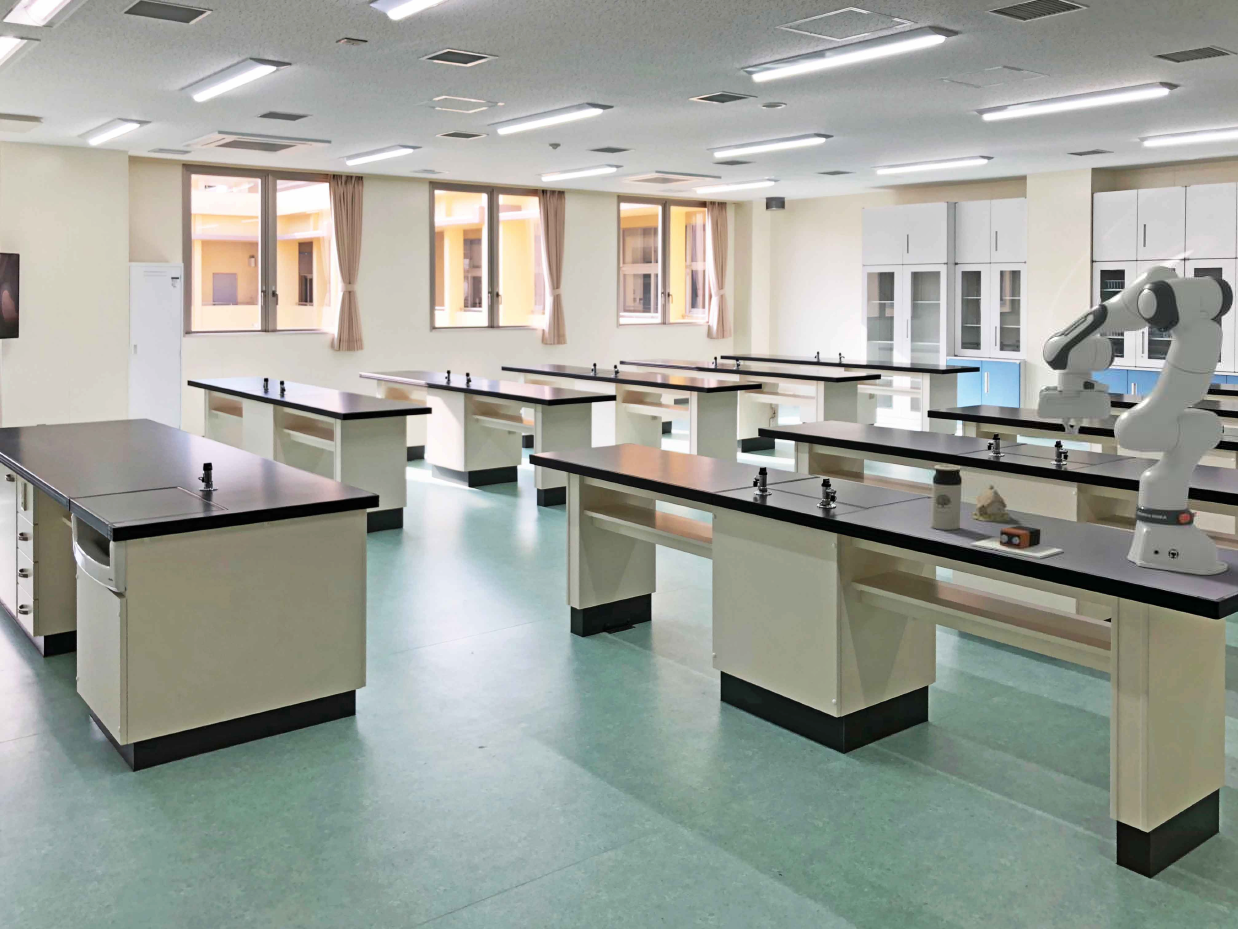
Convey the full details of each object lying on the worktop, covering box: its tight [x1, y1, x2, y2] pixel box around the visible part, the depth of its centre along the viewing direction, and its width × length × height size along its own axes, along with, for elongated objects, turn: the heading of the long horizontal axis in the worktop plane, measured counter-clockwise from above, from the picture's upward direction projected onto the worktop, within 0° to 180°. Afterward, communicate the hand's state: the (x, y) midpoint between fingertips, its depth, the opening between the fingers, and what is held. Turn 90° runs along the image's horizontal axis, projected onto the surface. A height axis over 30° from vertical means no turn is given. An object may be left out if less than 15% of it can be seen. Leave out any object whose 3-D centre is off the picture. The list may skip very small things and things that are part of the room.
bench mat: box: [969, 536, 1064, 560], centre depth 293 cm, size 20×12×1 cm, turn 40°
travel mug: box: [930, 464, 963, 531], centre depth 319 cm, size 8×8×18 cm
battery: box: [999, 525, 1041, 549], centre depth 294 cm, size 4×7×10 cm
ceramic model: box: [972, 485, 1011, 522], centre depth 335 cm, size 14×11×10 cm
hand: (1071, 434), depth 309 cm, fingers closed
